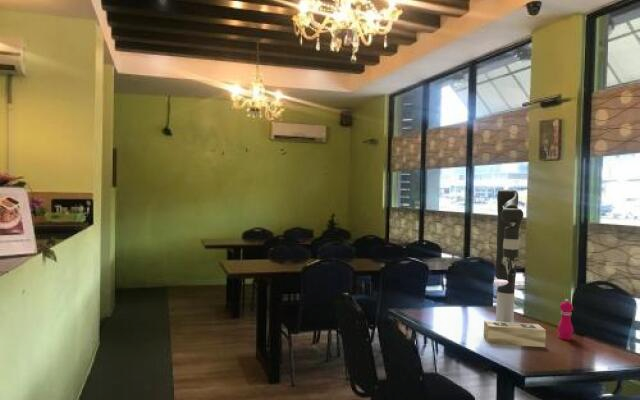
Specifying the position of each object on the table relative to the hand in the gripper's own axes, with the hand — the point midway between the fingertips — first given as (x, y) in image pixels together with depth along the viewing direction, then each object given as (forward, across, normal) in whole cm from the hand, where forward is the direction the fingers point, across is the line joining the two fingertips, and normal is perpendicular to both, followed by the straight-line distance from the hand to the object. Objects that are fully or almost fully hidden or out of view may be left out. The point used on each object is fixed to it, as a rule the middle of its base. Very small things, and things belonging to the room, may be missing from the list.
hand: (509, 281), depth 258 cm
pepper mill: (+28, -4, +29) cm, 41 cm away
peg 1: (+27, +11, -6) cm, 30 cm away
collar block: (+27, +11, 0) cm, 29 cm away
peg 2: (+27, +11, +7) cm, 30 cm away
